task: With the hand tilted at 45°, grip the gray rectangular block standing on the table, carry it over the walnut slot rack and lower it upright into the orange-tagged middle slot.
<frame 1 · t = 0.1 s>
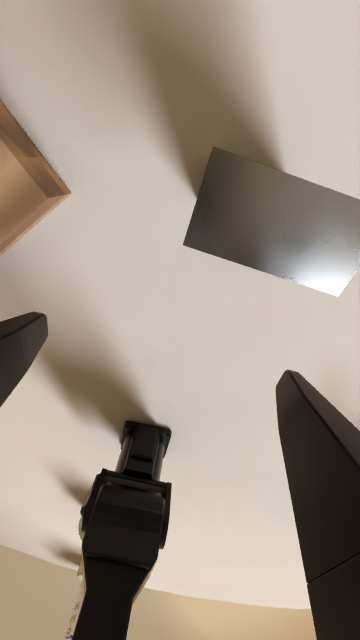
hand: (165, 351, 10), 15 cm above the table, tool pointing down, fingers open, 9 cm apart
gray rectangular block: (241, 192, 20), on the table
ink cartridge box: (101, 566, 69), on the table
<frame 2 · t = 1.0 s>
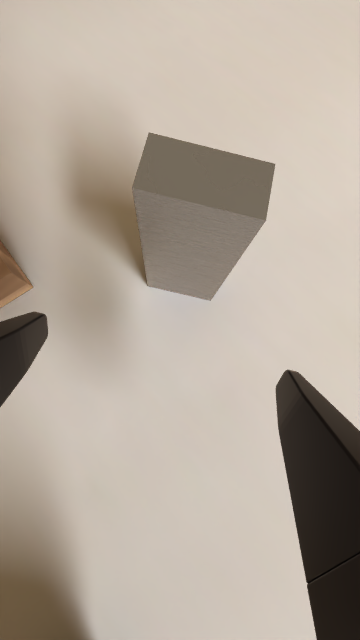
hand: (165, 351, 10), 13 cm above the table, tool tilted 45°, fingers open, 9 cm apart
gray rectangular block: (182, 278, 24), on the table
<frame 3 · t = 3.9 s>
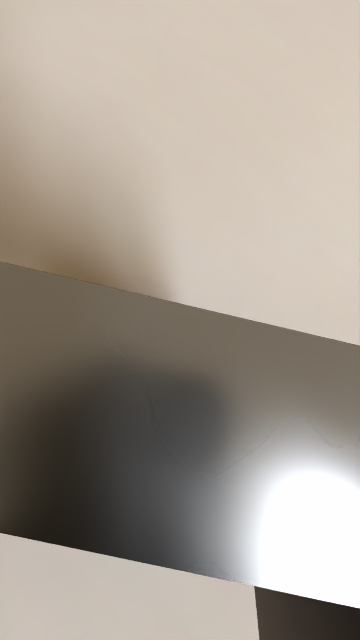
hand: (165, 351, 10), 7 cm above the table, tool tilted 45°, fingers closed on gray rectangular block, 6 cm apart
gray rectangular block: (158, 383, 16), on the table, touching gripper
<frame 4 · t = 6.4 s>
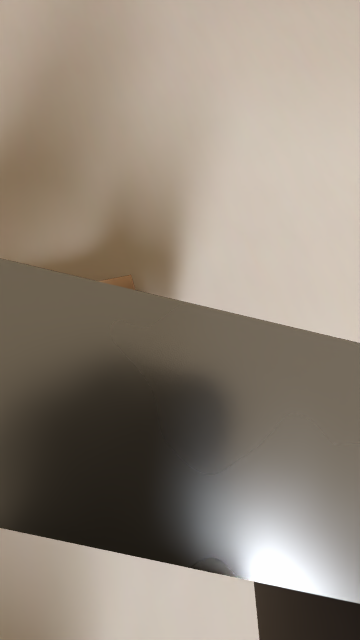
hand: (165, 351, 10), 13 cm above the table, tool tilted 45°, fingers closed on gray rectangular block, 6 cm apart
gray rectangular block: (159, 382, 16), point 7 cm above the table, touching gripper
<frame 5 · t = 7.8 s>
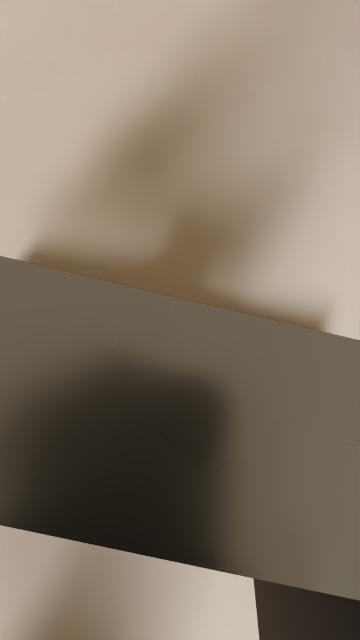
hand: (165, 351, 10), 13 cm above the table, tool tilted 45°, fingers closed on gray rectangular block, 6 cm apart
gray rectangular block: (158, 382, 16), point 6 cm above the table, touching gripper
when the fingers open (9 cm above the table, at t = 9.0 s): gray rectangular block drops 1 cm, resting on slot rack.
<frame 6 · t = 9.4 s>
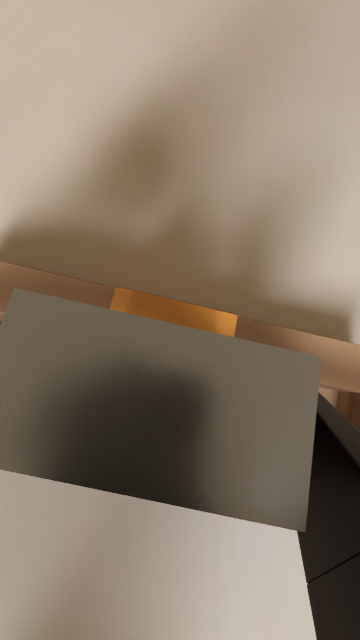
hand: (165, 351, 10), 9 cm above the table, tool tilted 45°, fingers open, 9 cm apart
slot rack: (158, 382, 18), on the table
gray rectangular block: (158, 381, 17), point 1 cm above the table, touching slot rack
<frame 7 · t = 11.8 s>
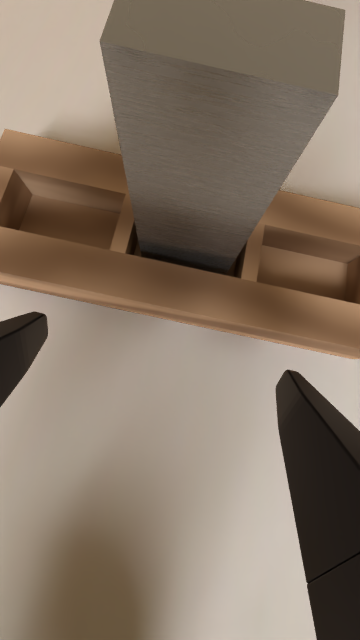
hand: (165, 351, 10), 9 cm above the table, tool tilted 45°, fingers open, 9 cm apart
slot rack: (185, 259, 20), on the table
gray rectangular block: (186, 253, 19), point 1 cm above the table, touching slot rack
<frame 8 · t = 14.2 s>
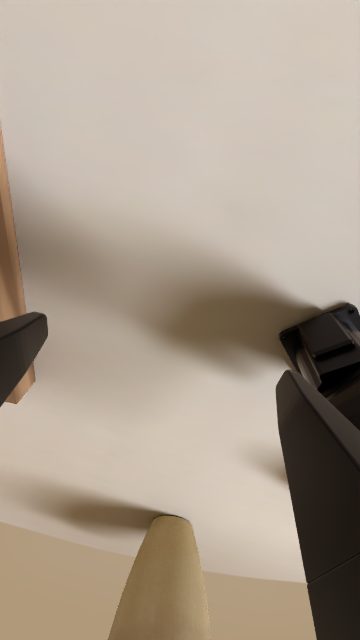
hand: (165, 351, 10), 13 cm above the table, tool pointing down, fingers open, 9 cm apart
plant pot: (172, 523, 48), on the table
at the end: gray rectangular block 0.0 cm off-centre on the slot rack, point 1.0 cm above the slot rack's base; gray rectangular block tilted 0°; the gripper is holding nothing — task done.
